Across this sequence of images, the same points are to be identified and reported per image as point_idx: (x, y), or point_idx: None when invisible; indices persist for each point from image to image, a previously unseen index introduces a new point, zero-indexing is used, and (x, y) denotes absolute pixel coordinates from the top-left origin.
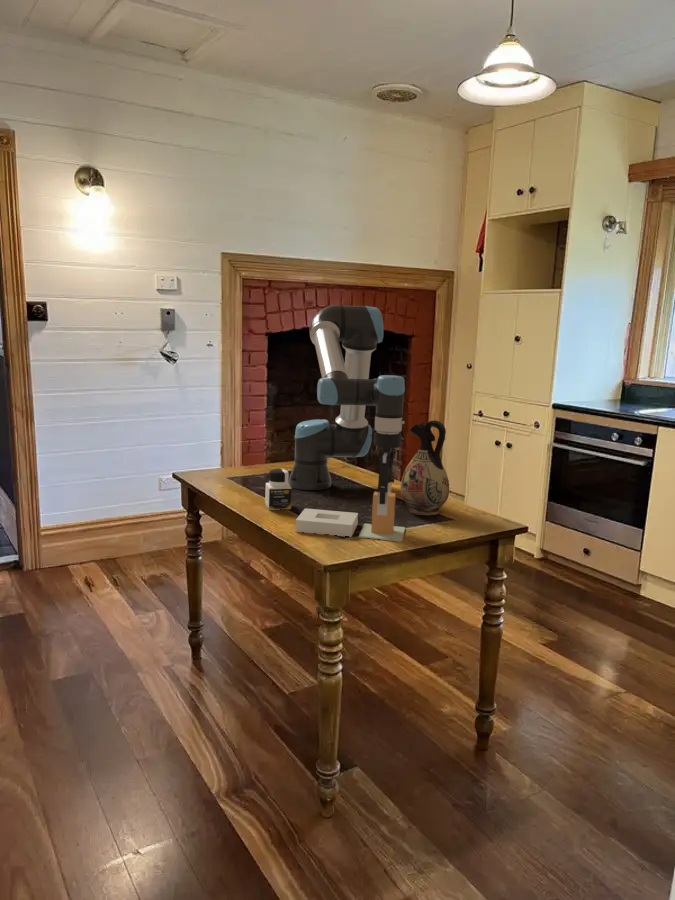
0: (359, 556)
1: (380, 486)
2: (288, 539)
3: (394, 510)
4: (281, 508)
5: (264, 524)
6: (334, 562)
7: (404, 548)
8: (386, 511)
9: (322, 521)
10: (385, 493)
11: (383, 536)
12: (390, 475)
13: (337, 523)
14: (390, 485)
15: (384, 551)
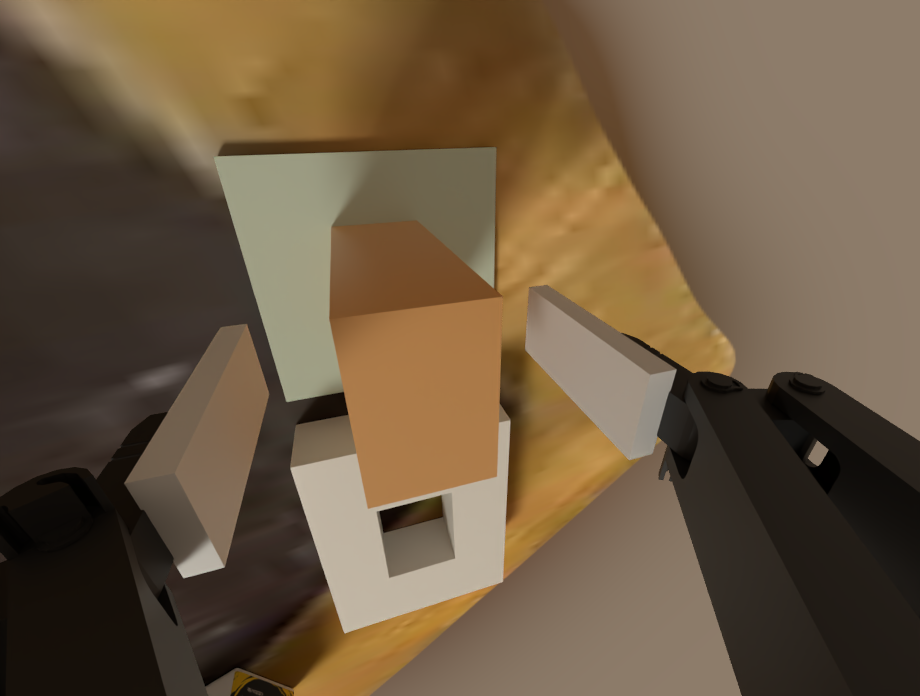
0: (687, 298)
1: (829, 466)
2: (558, 523)
3: (372, 258)
4: (264, 682)
5: (445, 620)
6: (730, 353)
7: (589, 119)
8: (563, 297)
9: (495, 520)
10: (667, 384)
11: (466, 261)
12: (152, 628)
13: (505, 472)
14: (193, 459)
15: (635, 216)
